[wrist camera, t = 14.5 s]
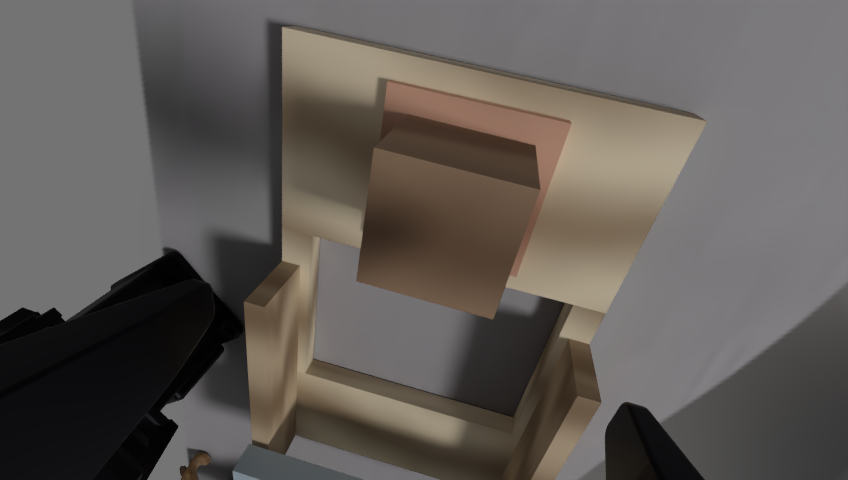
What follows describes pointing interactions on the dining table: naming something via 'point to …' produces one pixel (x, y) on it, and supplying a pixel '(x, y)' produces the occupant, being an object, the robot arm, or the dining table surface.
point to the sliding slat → (280, 467)
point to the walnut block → (447, 213)
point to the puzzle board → (532, 272)
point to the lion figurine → (194, 466)
